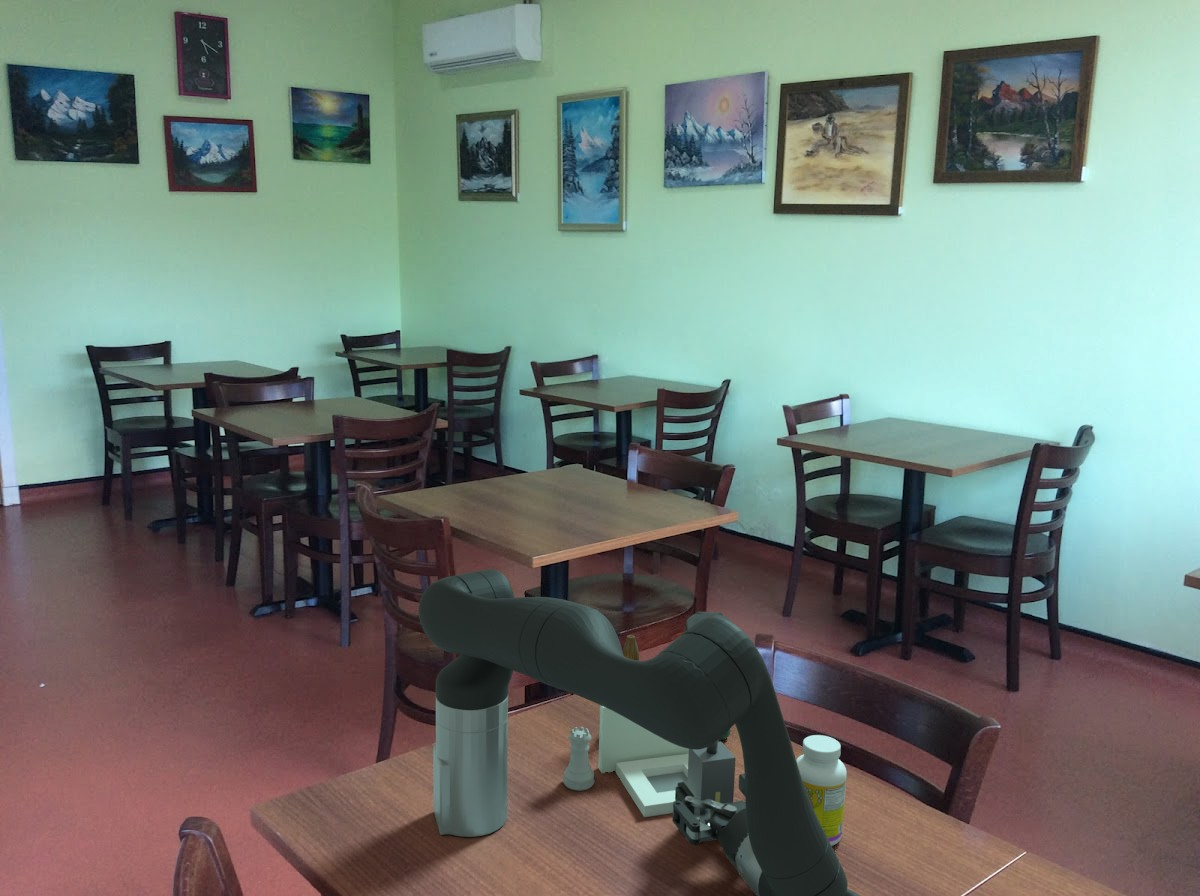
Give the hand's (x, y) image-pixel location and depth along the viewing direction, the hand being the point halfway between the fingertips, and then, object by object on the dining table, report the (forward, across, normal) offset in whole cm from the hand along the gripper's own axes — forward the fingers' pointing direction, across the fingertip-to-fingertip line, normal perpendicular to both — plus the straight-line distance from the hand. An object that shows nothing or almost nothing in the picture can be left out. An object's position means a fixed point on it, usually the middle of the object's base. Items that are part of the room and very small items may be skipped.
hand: (710, 784), depth 128 cm
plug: (0, 0, +6) cm, 7 cm away
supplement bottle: (-5, -13, +7) cm, 15 cm away
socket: (+12, 0, +6) cm, 14 cm away
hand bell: (+29, +1, +7) cm, 30 cm away
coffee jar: (+27, -11, +7) cm, 30 cm away
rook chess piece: (+16, +13, +7) cm, 21 cm away
